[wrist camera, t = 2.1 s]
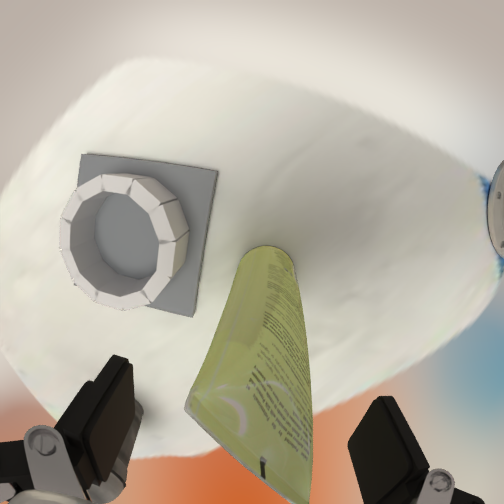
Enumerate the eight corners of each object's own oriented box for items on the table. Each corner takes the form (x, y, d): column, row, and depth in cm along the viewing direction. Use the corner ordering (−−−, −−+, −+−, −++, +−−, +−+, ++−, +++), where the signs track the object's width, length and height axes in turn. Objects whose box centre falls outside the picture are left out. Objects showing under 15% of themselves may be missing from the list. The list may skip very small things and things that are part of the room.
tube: (223, 286, 26) (158, 489, 7) (241, 233, 24) (183, 410, 6) (282, 305, 26) (309, 515, 7) (304, 255, 25) (391, 446, 6)
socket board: (218, 171, 23) (206, 170, 18) (194, 312, 26) (181, 340, 22) (87, 154, 23) (55, 152, 18) (78, 281, 26) (51, 300, 21)
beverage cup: (163, 410, 30) (114, 547, 11) (139, 431, 32) (92, 545, 13) (114, 376, 29) (37, 504, 10) (95, 400, 31) (31, 508, 12)
